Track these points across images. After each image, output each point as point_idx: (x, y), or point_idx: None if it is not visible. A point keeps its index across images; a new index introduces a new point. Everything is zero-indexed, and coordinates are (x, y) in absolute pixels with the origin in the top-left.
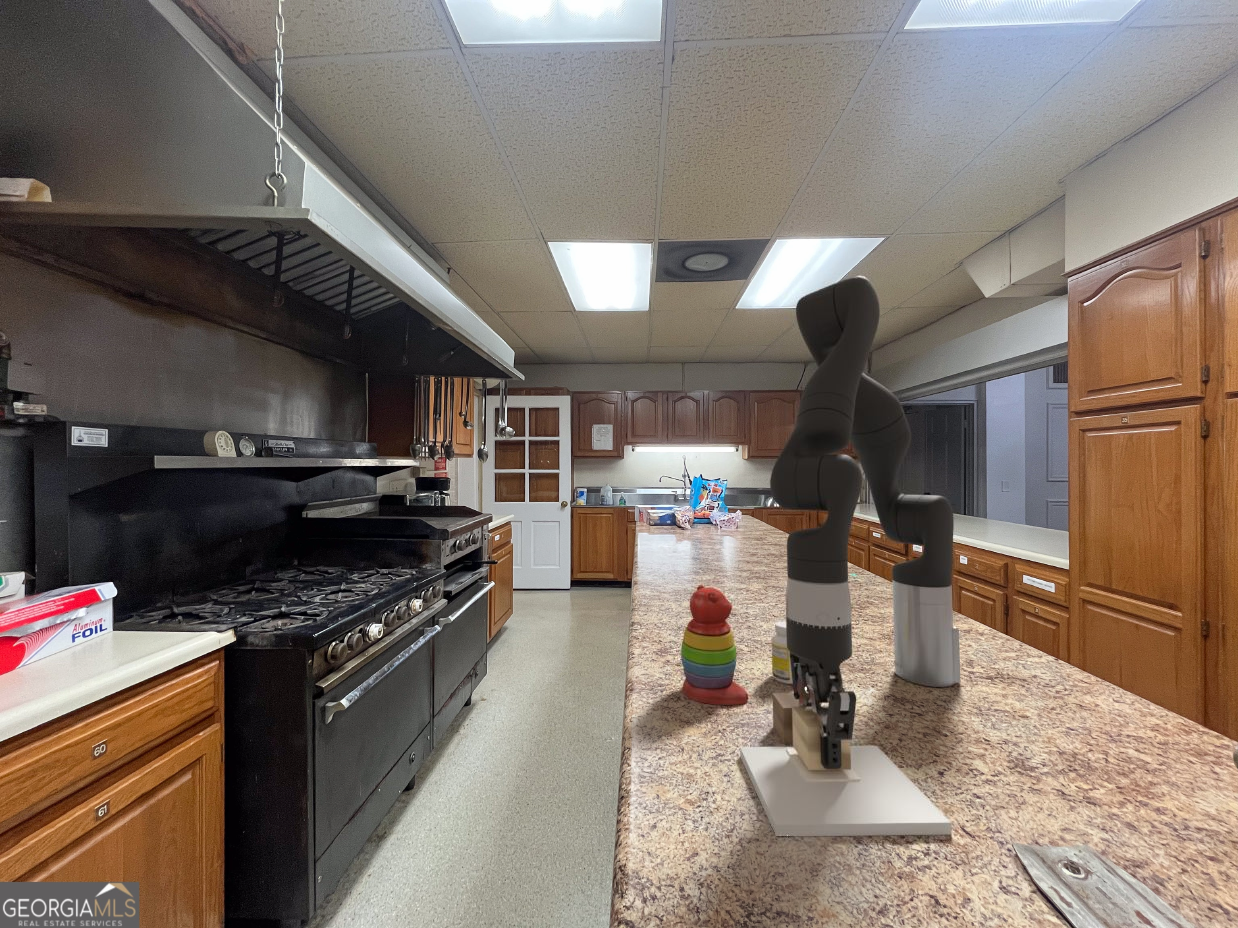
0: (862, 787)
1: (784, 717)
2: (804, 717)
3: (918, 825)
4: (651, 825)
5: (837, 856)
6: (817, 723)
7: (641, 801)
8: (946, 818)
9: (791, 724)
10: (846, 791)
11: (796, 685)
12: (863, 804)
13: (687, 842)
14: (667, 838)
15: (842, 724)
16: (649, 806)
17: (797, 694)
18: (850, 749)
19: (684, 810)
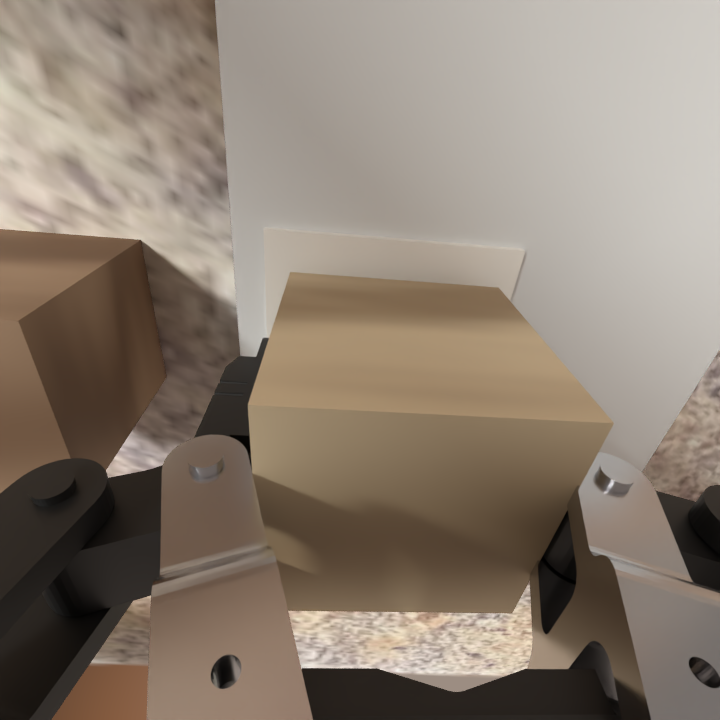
0: (561, 266)
1: (111, 453)
2: (405, 596)
3: None
4: (472, 657)
5: (690, 441)
6: (494, 570)
7: (408, 663)
8: None
9: (123, 401)
10: (558, 341)
11: (70, 685)
12: (639, 320)
13: (528, 628)
14: (508, 645)
15: (670, 533)
16: (424, 657)
17: (126, 603)
18: (535, 331)
19: (449, 624)
